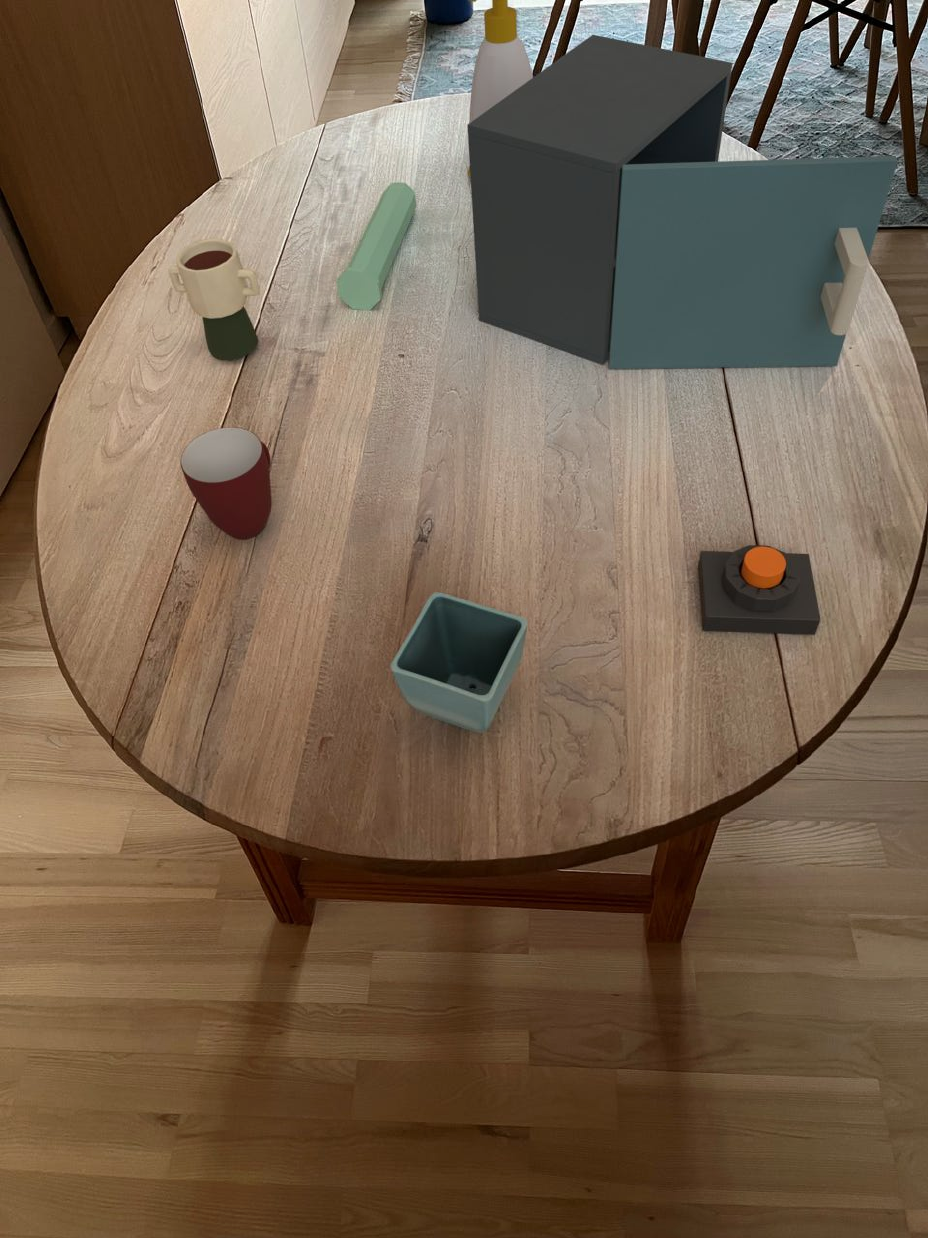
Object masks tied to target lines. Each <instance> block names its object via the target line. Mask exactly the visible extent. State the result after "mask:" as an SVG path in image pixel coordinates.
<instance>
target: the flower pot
mask: <svg viewBox="0 0 928 1238" xmlns="http://www.w3.org/2000/svg"><path fill="white" fill-rule="evenodd" d="M528 623H529V622H528V619H527V618H526V617H522V616H521V615H517V614H513V613H510V612H506V611H503V610H500V609H496V608H493V607H490V606H486V605H483V604H480V603H478V602H477V603H476V602H473V601H469V600H467V599H464V598H461V597H457V596H453V595H451V594H448V593H445V592H439V591H434V592H433V593H431V595H430V596H429V597H428V599H427V601H426V603H425V604H424V606H423V607H422V610H421V612H420V614H419V615H418V617H417V619H416V620H415V622H414V623H413V626H412V627H411V629H410V631H409V633H408V634H407V636H406V638H405V639H404V641H403V643H402V644H401V646H400V648H398V651H397V653H396V654H395V656H394V658H393V659H392V661H391V663H390V666H389V668H390V671H391V673H392V675H393V677H394V680H395V682H396V685H397V687H398V689H399V691H400V693H401V695H402V697H403V699H404V700H405V701H406V703H408V705H410V707H412V708H413V709H415V710H416V711H417V712H419V713H422V714H423V715H425V716H427V717H429V718H432V719H434V720H438V721H440V722H443V723H445V724H446V723H447V724H450V725H453V726H456V727H458V728H461V729H463V730H466V731H469V732H472V733H476V734H483V733H485V732H486V731H487V730H489V728H490V726H491V724H492V722H493V721H494V718H495V716H496V713H497V711H498V709H499V707H500V705H501V703H502V701H503V698H504V697H505V695H506V692H507V691H508V688H509V687H510V684H511V682H512V680H513V678H514V676H515V675H516V672H517V670H518V668H519V666H520V663H521V660H522V657H523V652H524V647H525V641H526V636H527V632H528V631H527V629H528ZM471 687H474V689H471Z"/></svg>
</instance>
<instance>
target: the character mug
mask: <svg viewBox="0 0 928 1238" xmlns="http://www.w3.org/2000/svg"><path fill="white" fill-rule="evenodd" d="M175 262H176V265H172V266H168V275H169V278H170V281H171V284H172V287H173V289H174V291H175V292H178V293H186V296H187V299H188V303H189V305H190V307H191V309H192V310H193V312H194V313H195V314H196V315H198V316H199V317H201V318H202V324H203V329H204V330H203V331H204V336H205V340H206V341H205V342H206V347H207V350H208V351H209V353H210V355H211V357H213V358H215V359H217V360H218V361H222V362H232V361H236V360H239V359H243V358H244V357H246V356H247V355H249V354H250V353H252V352H253V351H254V350H255V349H256V347H258V344H259V341H260V340H259V337H258V335H257V332H256V329H255V326H254V325H253V322H252V320H251V318H250V315H249V314H248V311H247V309H246V308H245V305H246V304H247V300H248V297H257V296H260V295H261V289H260V285H259V281H258V277H257V274H256V272H255V270H253V269H244V267H243V265H242V262H241V258H240V254H239V253H238V250H237V248H236V246H235V244H234V243H232V242H231V241H229V240H228V239H223V238H217V237H216V238H212V237H211V238H205V239H201V240H198V241H194V242H192V243H190V244H188V245H187V246H184V247H183V248H182V249H181V250H180V251H179V252H178V253H177V255H176V258H175ZM180 278H181V280H180ZM247 279H248V282H249V286H248V282H247Z"/></svg>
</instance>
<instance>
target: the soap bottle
mask: <svg viewBox="0 0 928 1238" xmlns="http://www.w3.org/2000/svg"><path fill="white" fill-rule="evenodd" d="M468 1H469V2H473V3H476V2H477V0H468ZM491 2H492V3H491V4H492V5H491V6H492V7H490V8H488V9H486V10H484V13H483V16H484V17H483V18H484V19H483V20H484V38H483V40H482V41H481V43H480V45H479V48H478V51H477V55H476V59H475V63H474V68H473V74H472V79H471V81H472V82H471V90H470V99H469V100H470V102H469V118H468V119H469V120H468V124H469V123H471V122H472V121H473V120H475V119H476V118H477V117H479V116H480V115H482V114H483V113H484V112H486V111H487V110H489V109H490V108H491V107H493V106H494V105H496V104H497V103H498V102H500V101H501V100H503V99H504V98H505V97H507V96H508V95H510V94H511V93H512V92H514V91H515V90H516V89H518V88H519V87H521V86H522V85H523V84H525V83H526V82H528V81H529V80H530V79H532V78H533V77H534V75H533V70H532V67H531V63H530V59H529V55H528V52H527V49H526V48H525V44H524V42H522V40H521V38H520V37H519V36H518V20H517V19H518V18H517V9H516V8H515V7H512V6H509V4H508V2H509V1H508V0H491ZM467 175H468V177H469V179H470V180H471V178H470V165H469V166H468V170H467Z"/></svg>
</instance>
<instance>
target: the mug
mask: <svg viewBox="0 0 928 1238" xmlns="http://www.w3.org/2000/svg"><path fill="white" fill-rule="evenodd" d="M179 460H180V461H179V465H180V469H181V472H182V473H183V477H184V479H185V482H186V484H187V486H188V488H189V491H190V493H191V494H192V496H193V497H194V498H195V500H196V501H197V503H198V504H199V506H200V507H201V509H202V510H203V511H204V513H205V515H206V516H207V517H208V519H209V520H210V522H211V523H212V524H213V525H214V526H215V527H216V528H217V529H219V530H220V531H222V532H223V533H225V534H227V535H228V536H230V537H231V538H234V539H236V540H243V541H244V540H250V539H253V538H255V537H257V536H259V535H260V534H261V533H262V532H263V531H264V529H265V528H266V525H267V523H268V521H269V517H270V514H271V511H272V502H273V501H272V487H271V476H270V475H271V474H270V473H271V472H270V469H271V454H270V451H269V448H268V446H267V445H266V443H264V442H263V441H262V440H261V439H260V437H259V436H257V434H256V433H254V432H252V431H250V430H248V429H245V428H241V427H230V426H228V427H220V428H215V429H211V430H209V431H206V432H204V433H201V434H200V435H198V436H197V437H195V438H194V439H192V440H191V441H190V442H189V443H188V444H187V445H186V446H185V448H184V449H183V451H182V452H181V455H180V459H179Z"/></svg>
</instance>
